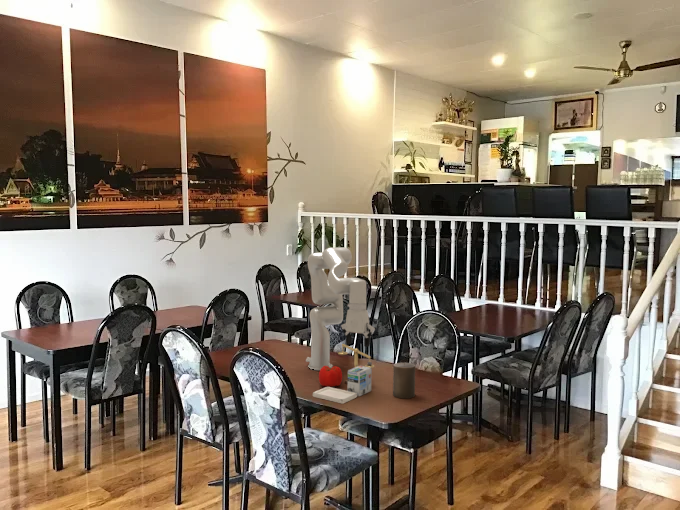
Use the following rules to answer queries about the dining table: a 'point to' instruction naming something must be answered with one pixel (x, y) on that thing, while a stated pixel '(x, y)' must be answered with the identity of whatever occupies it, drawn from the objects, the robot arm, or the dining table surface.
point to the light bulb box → (359, 380)
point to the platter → (335, 395)
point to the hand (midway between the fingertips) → (357, 345)
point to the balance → (356, 357)
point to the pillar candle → (404, 380)
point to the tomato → (330, 376)
